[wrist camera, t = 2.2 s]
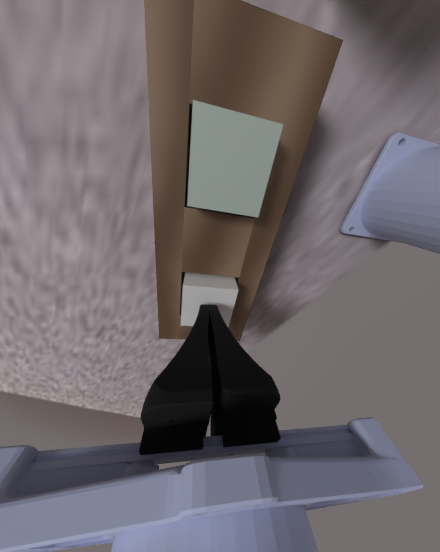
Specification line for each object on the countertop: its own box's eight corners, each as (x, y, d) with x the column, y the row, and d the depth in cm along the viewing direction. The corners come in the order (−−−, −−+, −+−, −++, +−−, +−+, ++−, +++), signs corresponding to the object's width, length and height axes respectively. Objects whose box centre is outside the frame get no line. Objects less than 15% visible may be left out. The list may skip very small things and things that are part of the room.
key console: (299, 85, 11) (343, 40, 7) (234, 316, 22) (239, 340, 18) (164, 42, 9) (142, -39, 6) (166, 312, 20) (159, 338, 17)
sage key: (263, 139, 10) (283, 124, 8) (246, 210, 12) (258, 217, 10) (195, 122, 10) (193, 99, 7) (190, 201, 12) (187, 205, 9)
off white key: (232, 271, 15) (238, 289, 13) (224, 306, 17) (228, 327, 15) (186, 267, 14) (182, 285, 12) (184, 303, 17) (180, 325, 14)
